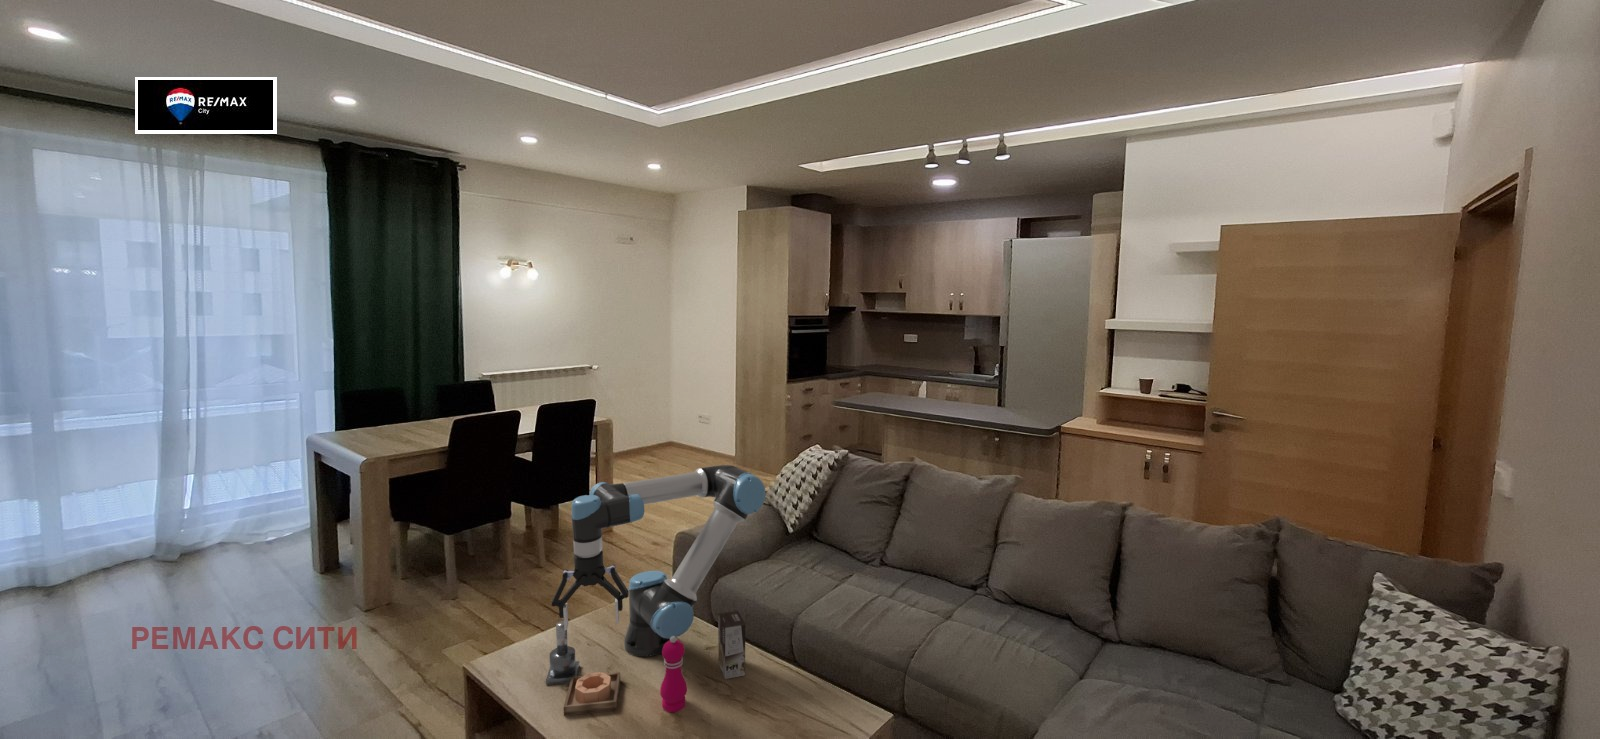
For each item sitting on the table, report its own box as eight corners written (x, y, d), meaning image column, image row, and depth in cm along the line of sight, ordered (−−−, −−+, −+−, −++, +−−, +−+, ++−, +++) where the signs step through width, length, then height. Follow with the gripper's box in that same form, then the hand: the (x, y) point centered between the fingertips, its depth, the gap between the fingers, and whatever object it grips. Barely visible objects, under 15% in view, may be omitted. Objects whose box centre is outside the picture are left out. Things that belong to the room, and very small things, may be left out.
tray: (620, 680, 184) (620, 672, 183) (616, 710, 171) (615, 701, 170) (571, 684, 181) (571, 676, 181) (563, 715, 168) (563, 707, 168)
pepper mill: (674, 717, 168) (673, 646, 166) (654, 707, 172) (653, 638, 170) (692, 702, 175) (692, 634, 172) (673, 693, 178) (672, 626, 176)
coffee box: (745, 675, 187) (746, 624, 185) (724, 679, 185) (724, 628, 183) (738, 658, 196) (738, 609, 194) (717, 662, 193) (717, 612, 191)
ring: (608, 702, 172) (608, 690, 172) (573, 706, 171) (573, 694, 170) (611, 682, 181) (611, 671, 181) (578, 685, 179) (578, 674, 179)
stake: (579, 665, 190) (577, 615, 188) (575, 681, 183) (573, 629, 181) (551, 668, 189) (549, 617, 187) (545, 684, 181) (544, 632, 179)
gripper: (635, 542, 180) (638, 611, 183) (542, 551, 174) (546, 623, 177) (635, 553, 173) (638, 625, 176) (537, 562, 167) (542, 637, 170)
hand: (592, 624), depth 177 cm, fingers open, 13 cm apart
